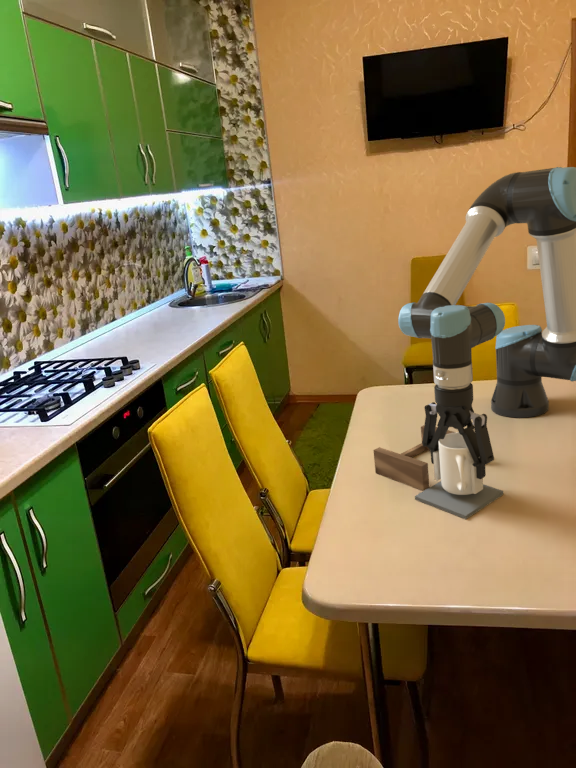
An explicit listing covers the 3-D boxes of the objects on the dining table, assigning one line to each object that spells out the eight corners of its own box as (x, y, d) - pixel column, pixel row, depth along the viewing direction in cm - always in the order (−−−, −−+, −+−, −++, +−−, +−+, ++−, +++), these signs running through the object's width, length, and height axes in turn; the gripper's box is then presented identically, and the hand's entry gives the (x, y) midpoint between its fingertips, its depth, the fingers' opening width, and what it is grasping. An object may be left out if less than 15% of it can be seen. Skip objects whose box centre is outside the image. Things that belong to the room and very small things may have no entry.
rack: (427, 446, 158) (425, 424, 156) (475, 460, 146) (474, 437, 145) (375, 473, 147) (373, 450, 145) (423, 491, 136) (421, 466, 134)
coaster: (452, 477, 140) (452, 474, 140) (503, 494, 130) (503, 490, 130) (415, 499, 133) (414, 496, 132) (465, 519, 123) (465, 515, 122)
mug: (441, 504, 126) (437, 456, 122) (441, 477, 137) (438, 432, 133) (485, 504, 123) (483, 455, 120) (482, 476, 134) (480, 431, 131)
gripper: (399, 380, 130) (407, 476, 137) (489, 398, 113) (492, 507, 120) (423, 370, 134) (429, 464, 141) (512, 387, 117) (514, 492, 124)
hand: (458, 484), depth 130 cm, fingers closed on mug, 9 cm apart
